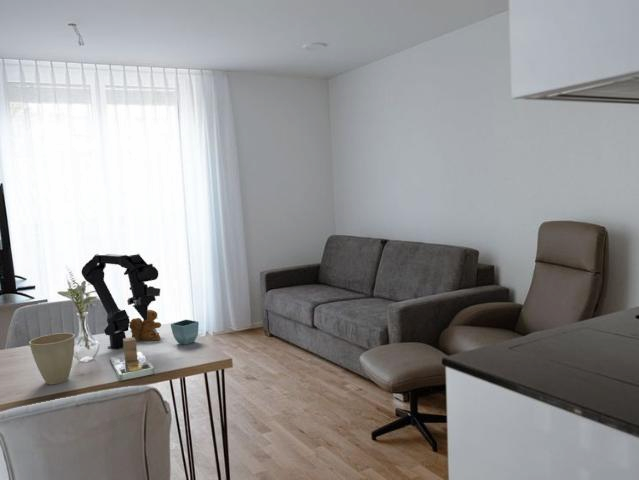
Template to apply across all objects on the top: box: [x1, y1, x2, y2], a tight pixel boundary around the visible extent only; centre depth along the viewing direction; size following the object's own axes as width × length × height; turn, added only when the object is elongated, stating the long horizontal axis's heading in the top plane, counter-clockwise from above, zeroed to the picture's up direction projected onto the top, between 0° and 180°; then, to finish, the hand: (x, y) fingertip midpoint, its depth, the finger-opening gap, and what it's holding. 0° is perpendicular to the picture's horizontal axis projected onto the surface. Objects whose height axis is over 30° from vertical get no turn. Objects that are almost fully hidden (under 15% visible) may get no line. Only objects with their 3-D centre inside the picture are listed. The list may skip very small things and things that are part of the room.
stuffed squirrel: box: [129, 309, 162, 342], centre depth 252 cm, size 10×14×13 cm
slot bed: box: [109, 351, 149, 375], centre depth 215 cm, size 18×12×2 cm, turn 27°
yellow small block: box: [128, 364, 143, 372], centre depth 203 cm, size 5×4×3 cm
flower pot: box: [170, 319, 199, 346], centre depth 242 cm, size 9×9×9 cm
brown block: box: [123, 336, 140, 373], centre depth 208 cm, size 8×4×11 cm, turn 28°
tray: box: [115, 361, 156, 381], centre depth 203 cm, size 8×12×3 cm
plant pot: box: [28, 332, 76, 385], centre depth 202 cm, size 15×15×16 cm
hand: (145, 319), depth 233 cm, fingers closed
